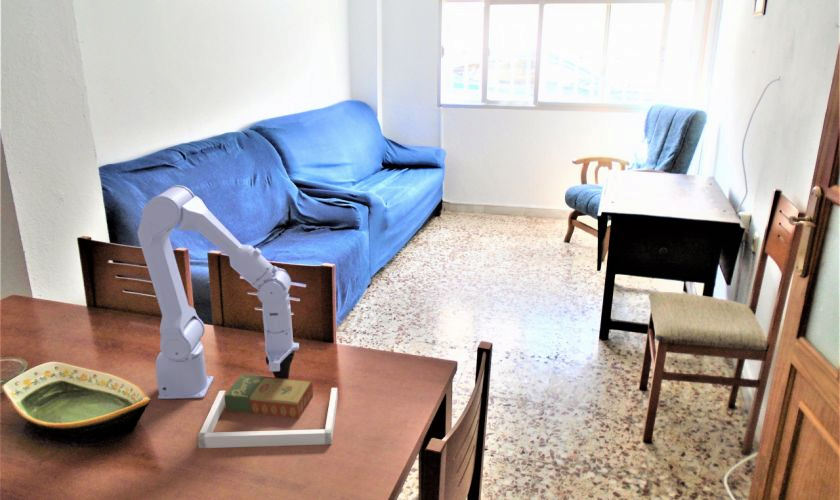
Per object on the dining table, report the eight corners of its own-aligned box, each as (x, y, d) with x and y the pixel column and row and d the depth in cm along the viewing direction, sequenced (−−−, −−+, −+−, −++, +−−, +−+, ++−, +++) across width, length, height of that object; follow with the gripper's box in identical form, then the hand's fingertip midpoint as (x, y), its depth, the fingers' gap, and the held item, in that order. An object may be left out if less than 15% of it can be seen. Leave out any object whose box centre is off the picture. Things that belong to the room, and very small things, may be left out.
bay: (199, 448, 108) (197, 437, 108) (220, 400, 123) (219, 390, 122) (331, 444, 110) (330, 433, 109) (337, 397, 124) (337, 387, 123)
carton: (299, 420, 117) (298, 402, 116) (225, 411, 120) (222, 393, 118) (313, 397, 125) (312, 379, 123) (243, 389, 128) (241, 372, 126)
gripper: (292, 343, 116) (296, 401, 120) (301, 311, 130) (305, 365, 134) (256, 344, 116) (262, 402, 120) (269, 312, 129) (274, 365, 134)
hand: (282, 383), depth 127 cm, fingers closed
